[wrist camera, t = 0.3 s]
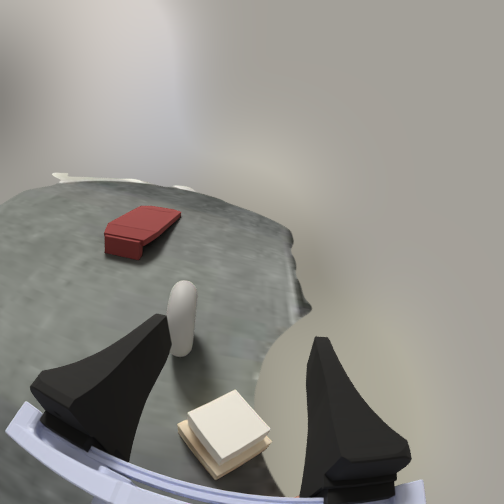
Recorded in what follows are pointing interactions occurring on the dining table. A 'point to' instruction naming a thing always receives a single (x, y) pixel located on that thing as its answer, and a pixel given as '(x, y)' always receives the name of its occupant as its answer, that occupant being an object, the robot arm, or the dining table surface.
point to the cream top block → (227, 426)
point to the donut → (182, 317)
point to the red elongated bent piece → (137, 230)
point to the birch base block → (208, 460)
